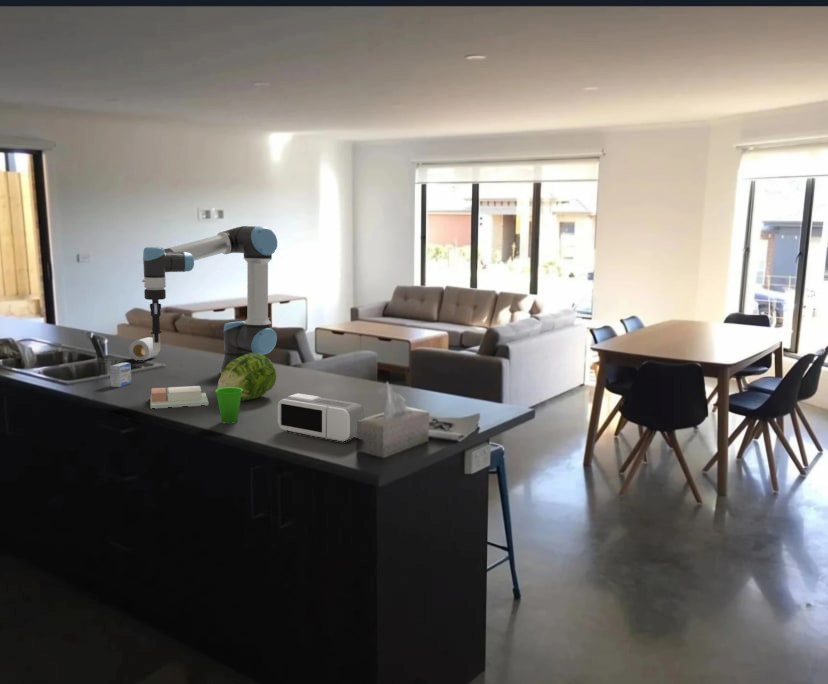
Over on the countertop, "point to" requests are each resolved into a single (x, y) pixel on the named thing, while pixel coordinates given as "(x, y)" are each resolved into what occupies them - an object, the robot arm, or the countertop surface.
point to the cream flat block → (184, 393)
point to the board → (179, 402)
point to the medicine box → (120, 374)
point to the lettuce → (249, 375)
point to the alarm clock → (319, 416)
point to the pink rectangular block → (158, 394)
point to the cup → (229, 403)
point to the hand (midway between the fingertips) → (156, 350)
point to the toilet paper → (142, 349)
